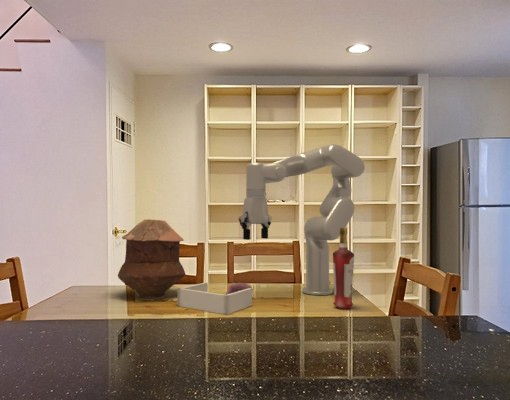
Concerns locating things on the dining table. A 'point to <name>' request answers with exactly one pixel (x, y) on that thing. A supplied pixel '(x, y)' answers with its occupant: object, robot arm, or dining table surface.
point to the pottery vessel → (151, 258)
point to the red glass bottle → (343, 273)
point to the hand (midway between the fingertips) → (255, 238)
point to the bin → (213, 299)
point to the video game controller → (237, 287)
